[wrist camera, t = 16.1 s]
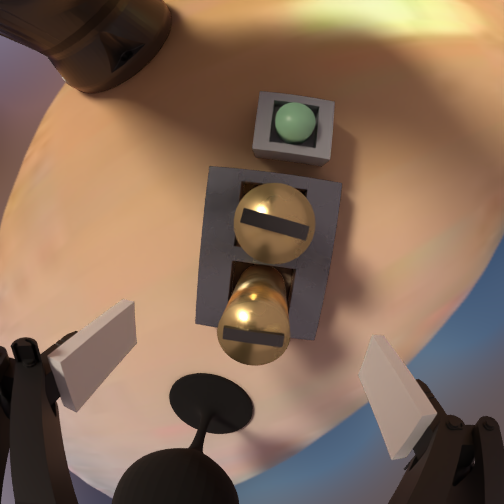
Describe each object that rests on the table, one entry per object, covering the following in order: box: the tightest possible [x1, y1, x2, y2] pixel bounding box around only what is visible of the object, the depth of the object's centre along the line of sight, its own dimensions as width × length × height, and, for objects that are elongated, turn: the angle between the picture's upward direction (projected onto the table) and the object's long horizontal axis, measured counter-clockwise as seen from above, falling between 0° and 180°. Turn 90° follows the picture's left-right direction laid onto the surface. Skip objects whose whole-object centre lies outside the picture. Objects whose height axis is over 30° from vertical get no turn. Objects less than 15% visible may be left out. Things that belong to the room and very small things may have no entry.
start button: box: [275, 102, 316, 145], centre depth 19 cm, size 3×3×2 cm
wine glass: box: [112, 373, 253, 504], centre depth 19 cm, size 10×10×20 cm
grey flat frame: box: [195, 166, 342, 340], centre depth 24 cm, size 11×14×2 cm
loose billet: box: [217, 264, 290, 365], centre depth 21 cm, size 4×4×10 cm
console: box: [252, 91, 335, 166], centre depth 21 cm, size 6×5×4 cm
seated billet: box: [234, 183, 315, 264], centre depth 19 cm, size 4×4×10 cm
